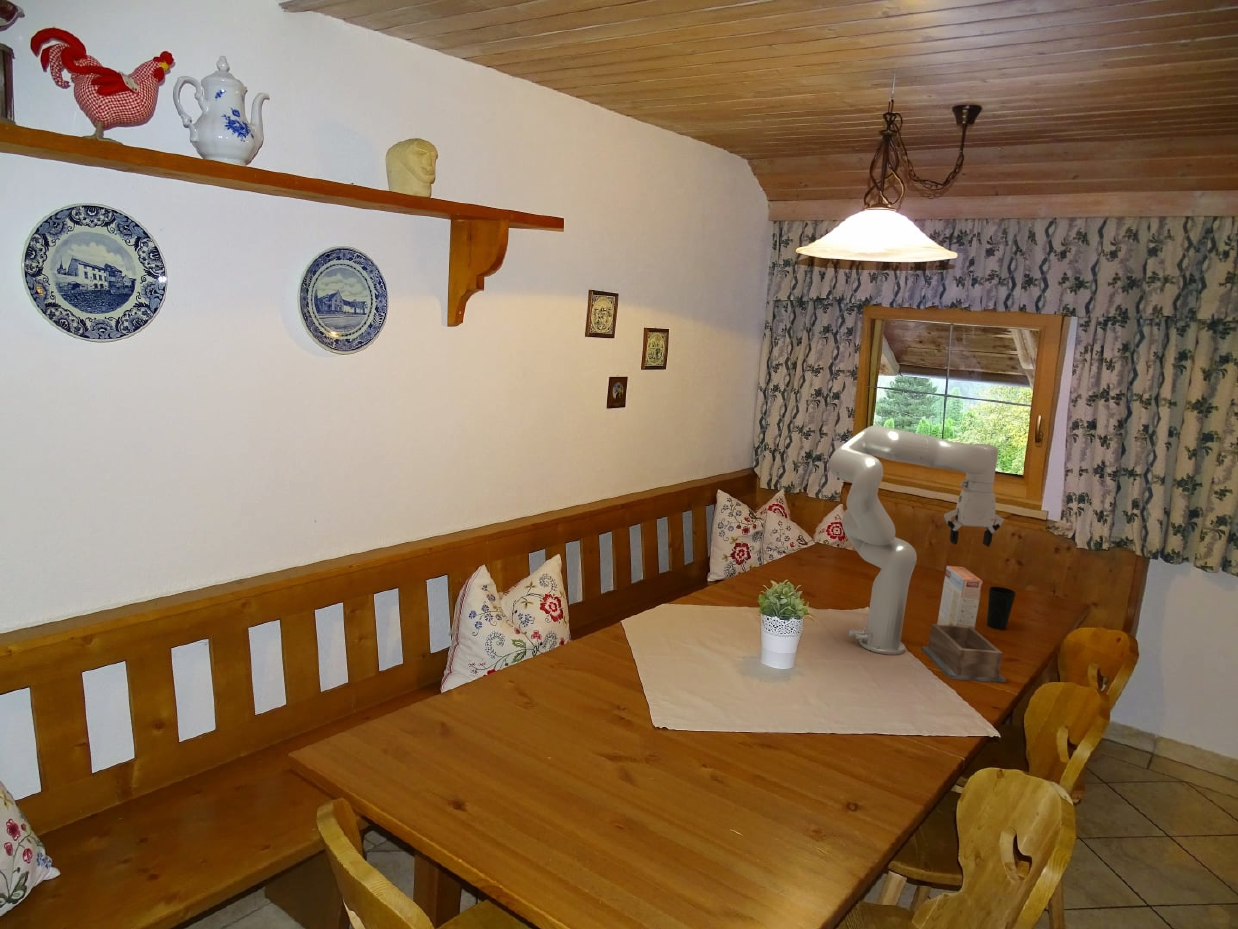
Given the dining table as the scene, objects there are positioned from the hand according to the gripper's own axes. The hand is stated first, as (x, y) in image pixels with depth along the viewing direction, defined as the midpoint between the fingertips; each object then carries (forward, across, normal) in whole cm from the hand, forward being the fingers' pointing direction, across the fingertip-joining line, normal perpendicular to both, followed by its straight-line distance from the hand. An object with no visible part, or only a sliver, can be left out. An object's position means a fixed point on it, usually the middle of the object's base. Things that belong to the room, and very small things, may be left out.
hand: (969, 544), depth 257 cm
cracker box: (+30, -1, 0) cm, 30 cm away
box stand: (+29, -7, -20) cm, 36 cm away
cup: (+30, +19, +15) cm, 39 cm away
